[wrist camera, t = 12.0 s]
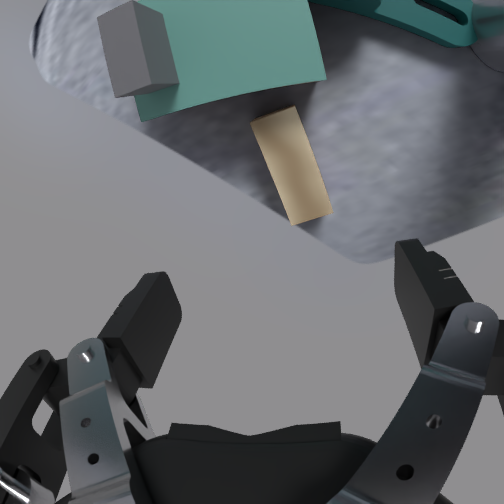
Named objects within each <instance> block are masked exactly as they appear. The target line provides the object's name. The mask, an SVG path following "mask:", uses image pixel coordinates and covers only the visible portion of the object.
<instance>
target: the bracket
mask: <svg viewBox="0 0 504 504" xmlns="http://www.w3.org/2000/svg"><path fill="white" fill-rule="evenodd" d="M307 1H308V2H312V3H317V4H321V5H326V6H330V7H334V8H338V9H342V10H346V11H349V12H353V13H357V14H360V15H363V16H367V17H370V18H373V19H376V20H379V21H382V22H385V23H388V24H391V25H394V26H396V27H399V28H402V29H404V30H407V31H410V32H412V33H415V34H417V35H419V36H422V37H424V38H426V39H429V40H431V41H433V42H436V43H438V44H440V45H442V46H445V47H449V48H456V47H463V46H469V45H472V44H474V43H475V42H476V41H477V40H478V38H477V36H476V33H475V30H474V26H473V22H472V6H473V2H472V0H422V1H425V2H427V3H429V4H431V5H434V6H436V7H438V8H440V9H442V10H444V11H446V12H448V13H450V14H452V15H454V16H455V17H456V18H457V20H458V23H456V22H454V21H452V20H450V19H448V18H446V17H444V16H442V15H440V14H438V13H436V12H433V11H431V10H429V9H427V8H424V7H422V6H420V5H418V4H416V3H415V1H414V0H307Z"/></svg>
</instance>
